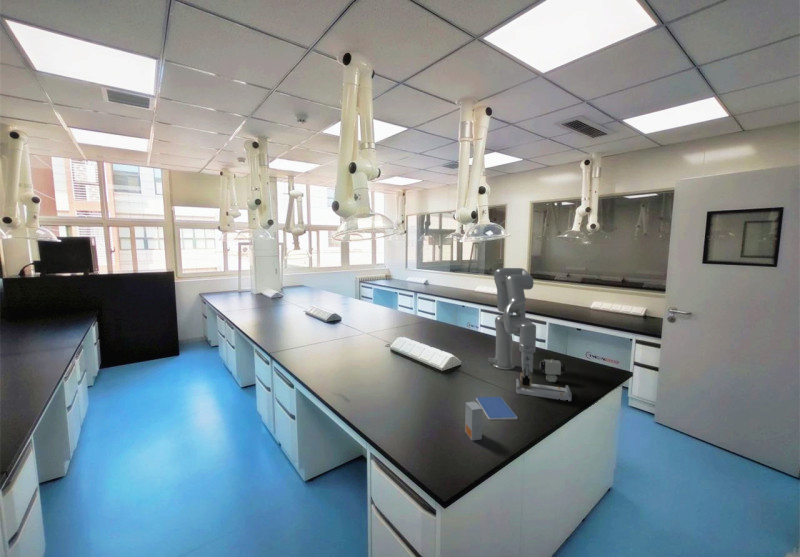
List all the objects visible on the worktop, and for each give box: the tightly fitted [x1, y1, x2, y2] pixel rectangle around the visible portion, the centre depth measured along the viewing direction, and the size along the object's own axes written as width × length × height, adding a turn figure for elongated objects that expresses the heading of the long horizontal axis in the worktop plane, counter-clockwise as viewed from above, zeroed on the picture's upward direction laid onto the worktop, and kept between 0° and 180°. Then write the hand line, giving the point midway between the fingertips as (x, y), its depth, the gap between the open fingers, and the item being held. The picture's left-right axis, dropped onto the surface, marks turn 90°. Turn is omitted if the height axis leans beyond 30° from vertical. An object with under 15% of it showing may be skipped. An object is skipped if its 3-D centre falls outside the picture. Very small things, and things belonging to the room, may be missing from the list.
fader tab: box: [519, 372, 533, 388], centre depth 158 cm, size 5×4×6 cm
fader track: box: [515, 378, 573, 402], centre depth 155 cm, size 24×10×4 cm, turn 71°
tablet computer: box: [475, 396, 519, 421], centre depth 140 cm, size 19×13×1 cm, turn 3°
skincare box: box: [464, 401, 483, 441], centre depth 118 cm, size 6×4×12 cm
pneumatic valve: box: [539, 358, 566, 383], centre depth 170 cm, size 6×12×12 cm, turn 76°
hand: (525, 383), depth 158 cm, fingers closed on fader tab, 3 cm apart
